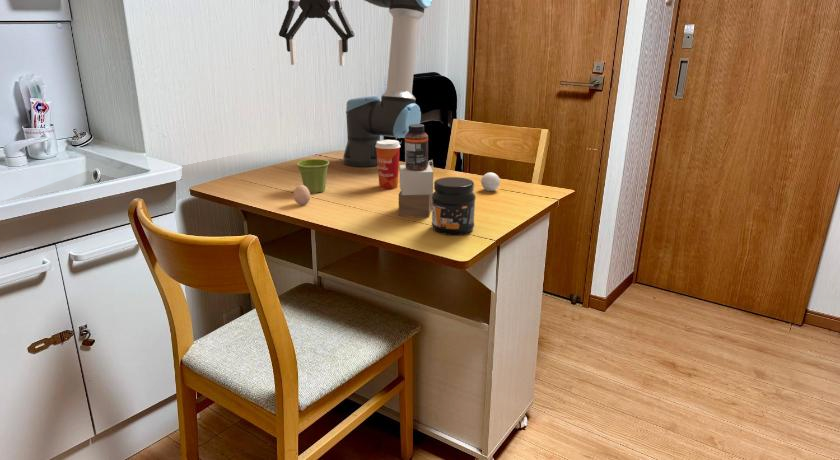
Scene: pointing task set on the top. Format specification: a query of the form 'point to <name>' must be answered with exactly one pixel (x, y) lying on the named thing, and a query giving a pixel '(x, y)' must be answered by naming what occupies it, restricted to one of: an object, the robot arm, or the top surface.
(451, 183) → the supplement container
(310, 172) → the plant pot
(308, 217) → the top surface
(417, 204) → the bottom block
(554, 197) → the top surface
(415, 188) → the top block
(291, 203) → the top surface
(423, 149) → the supplement bottle
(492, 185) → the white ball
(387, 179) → the paper cup
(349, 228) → the top surface
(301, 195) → the egg
